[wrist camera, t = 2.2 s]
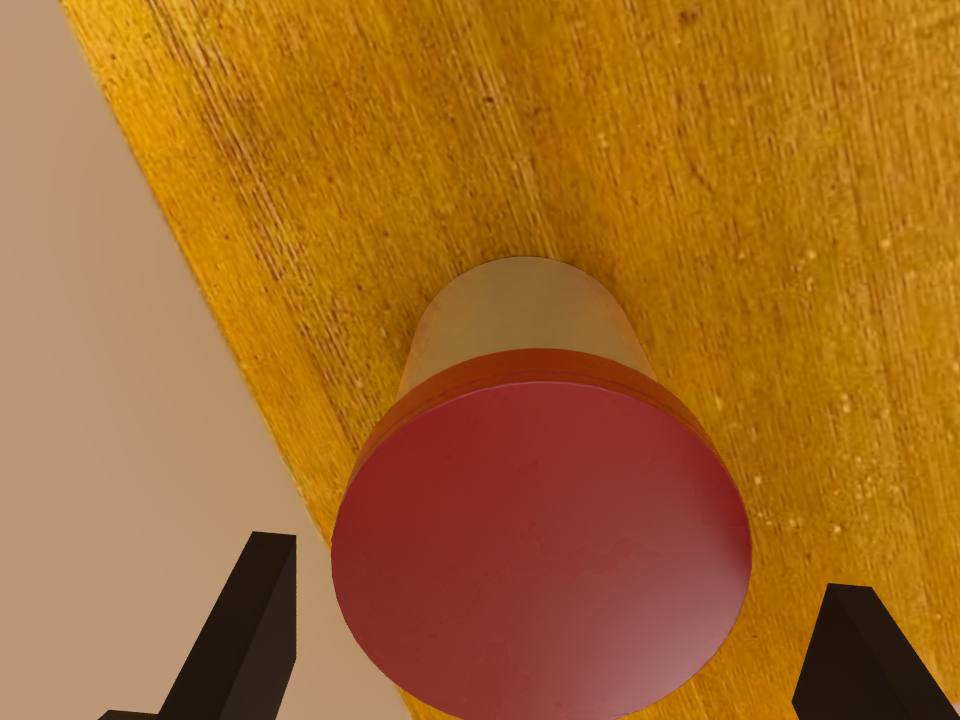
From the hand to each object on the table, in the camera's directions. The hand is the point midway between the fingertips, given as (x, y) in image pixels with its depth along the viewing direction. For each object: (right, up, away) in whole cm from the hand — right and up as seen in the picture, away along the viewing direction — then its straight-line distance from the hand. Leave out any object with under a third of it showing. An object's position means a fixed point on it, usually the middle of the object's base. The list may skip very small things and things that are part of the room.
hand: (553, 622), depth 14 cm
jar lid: (0, +1, +2) cm, 2 cm away
